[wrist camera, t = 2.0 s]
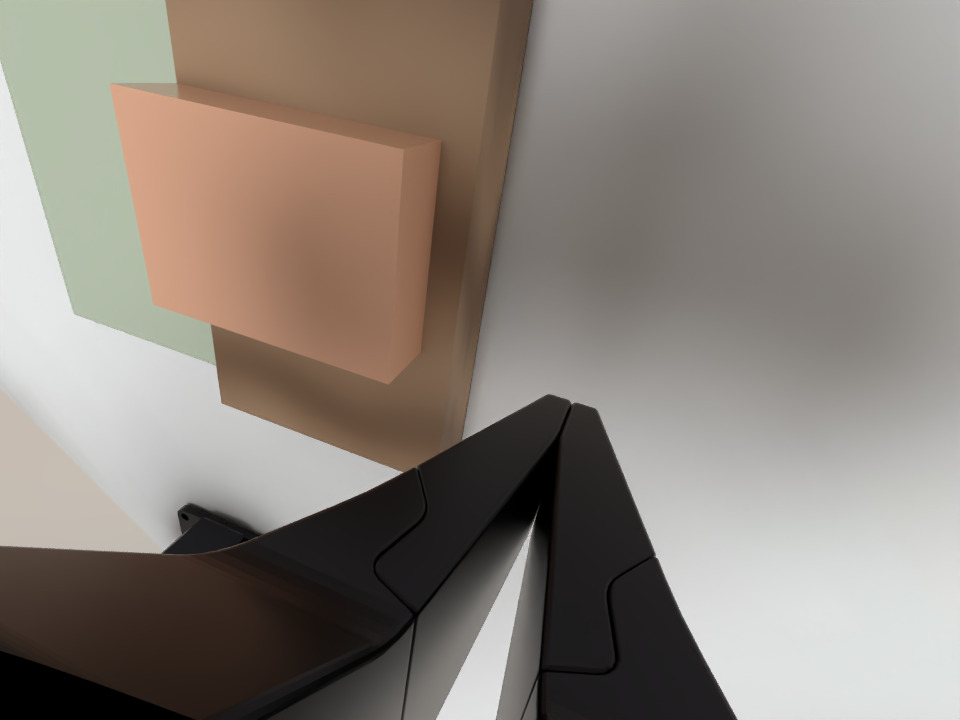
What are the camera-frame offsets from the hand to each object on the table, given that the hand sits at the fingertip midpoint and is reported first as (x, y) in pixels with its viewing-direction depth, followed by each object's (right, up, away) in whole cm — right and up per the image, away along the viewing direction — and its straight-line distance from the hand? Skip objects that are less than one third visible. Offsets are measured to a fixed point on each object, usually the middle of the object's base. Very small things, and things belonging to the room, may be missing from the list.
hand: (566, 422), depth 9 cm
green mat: (-14, +9, +10) cm, 20 cm away
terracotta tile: (-7, +5, +6) cm, 10 cm away
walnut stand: (-5, +6, +8) cm, 11 cm away
